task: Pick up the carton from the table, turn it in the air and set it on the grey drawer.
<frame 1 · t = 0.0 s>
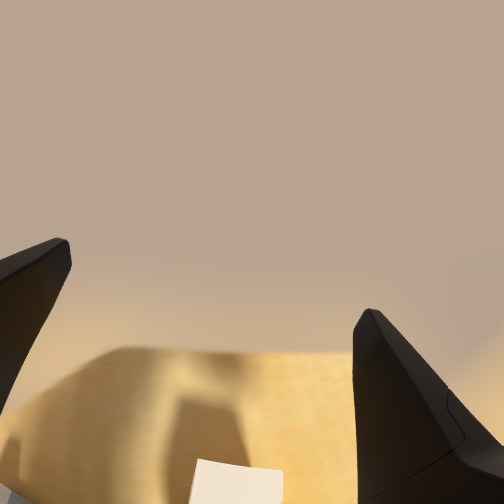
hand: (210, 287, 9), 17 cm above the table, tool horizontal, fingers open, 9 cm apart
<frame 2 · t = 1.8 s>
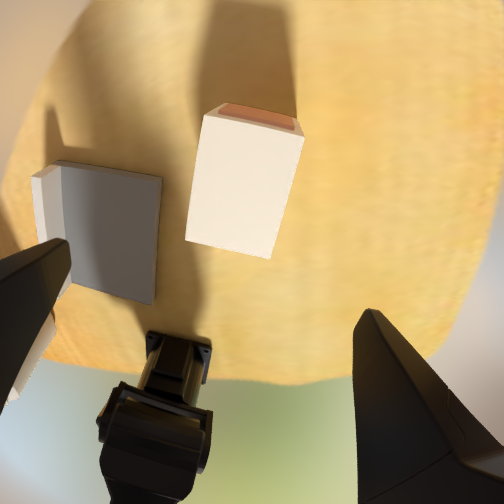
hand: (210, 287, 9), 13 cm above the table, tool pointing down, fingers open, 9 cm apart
can: (35, 309, 30), on the table
grey drawer: (105, 232, 23), on the table
carton: (249, 158, 20), on the table
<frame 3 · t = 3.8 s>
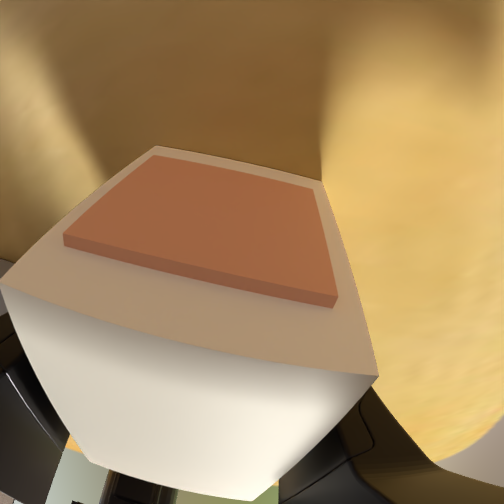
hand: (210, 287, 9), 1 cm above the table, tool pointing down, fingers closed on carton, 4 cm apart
carton: (217, 262, 10), on the table, touching gripper
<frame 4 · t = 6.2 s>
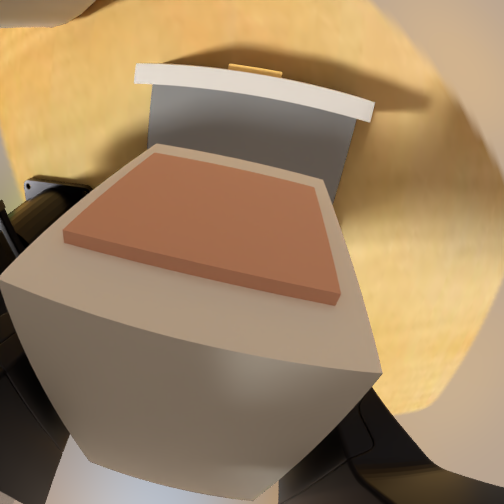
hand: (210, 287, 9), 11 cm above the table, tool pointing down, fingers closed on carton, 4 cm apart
grey drawer: (245, 149, 18), on the table
carton: (218, 261, 10), point 10 cm above the table, touching gripper
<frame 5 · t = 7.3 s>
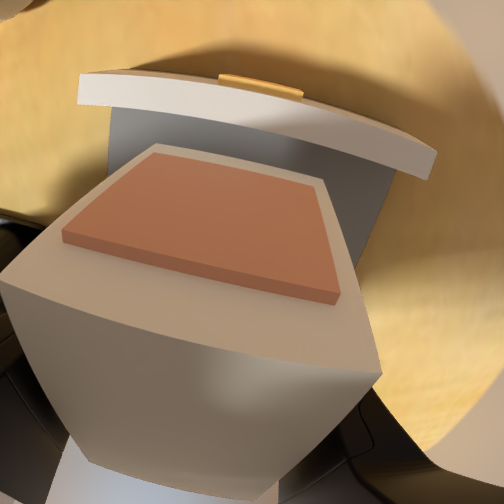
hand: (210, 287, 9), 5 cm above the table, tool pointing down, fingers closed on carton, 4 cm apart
grey drawer: (239, 194, 13), on the table
carton: (217, 261, 10), point 4 cm above the table, touching gripper
when the fingers open (4 cm above the table, at t = 8.4 s): carton drops 1 cm, resting on grey drawer.
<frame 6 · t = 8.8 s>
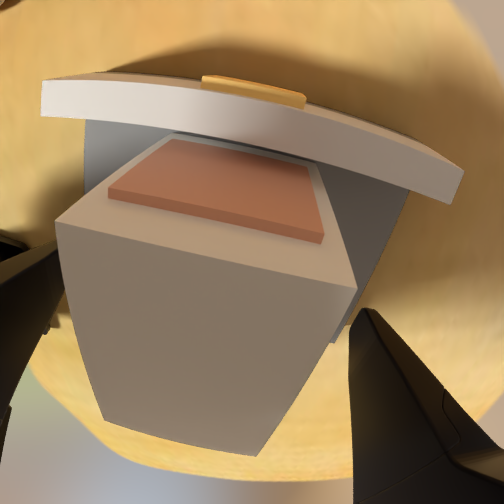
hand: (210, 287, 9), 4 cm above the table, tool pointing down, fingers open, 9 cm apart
grey drawer: (232, 213, 12), on the table
carton: (224, 237, 11), point 1 cm above the table, touching grey drawer
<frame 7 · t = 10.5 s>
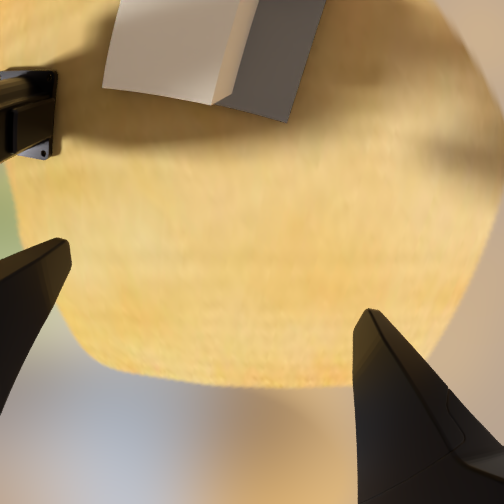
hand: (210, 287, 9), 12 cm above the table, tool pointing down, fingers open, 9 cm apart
grey drawer: (212, 25, 14), on the table
carton: (206, 30, 14), point 1 cm above the table, touching grey drawer
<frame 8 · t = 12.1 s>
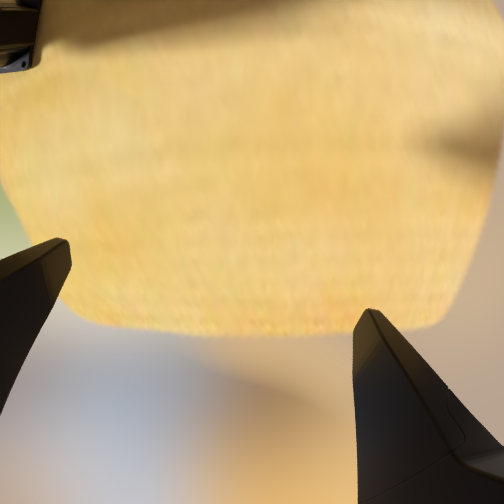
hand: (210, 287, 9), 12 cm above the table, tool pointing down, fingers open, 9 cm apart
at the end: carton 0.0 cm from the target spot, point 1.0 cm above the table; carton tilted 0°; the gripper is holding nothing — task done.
